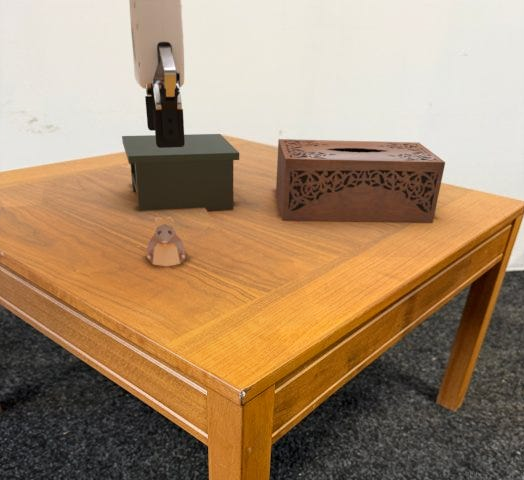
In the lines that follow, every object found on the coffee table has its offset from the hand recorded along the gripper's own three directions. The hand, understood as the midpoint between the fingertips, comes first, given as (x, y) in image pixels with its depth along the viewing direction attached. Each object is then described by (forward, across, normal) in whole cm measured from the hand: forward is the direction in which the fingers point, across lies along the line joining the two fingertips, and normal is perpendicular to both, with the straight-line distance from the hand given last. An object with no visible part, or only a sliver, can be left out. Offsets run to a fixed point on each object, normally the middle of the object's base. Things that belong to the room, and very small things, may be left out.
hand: (165, 137), depth 67 cm
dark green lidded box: (+16, -28, +5) cm, 33 cm away
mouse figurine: (+17, -1, -1) cm, 17 cm away
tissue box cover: (+17, -18, +34) cm, 42 cm away
